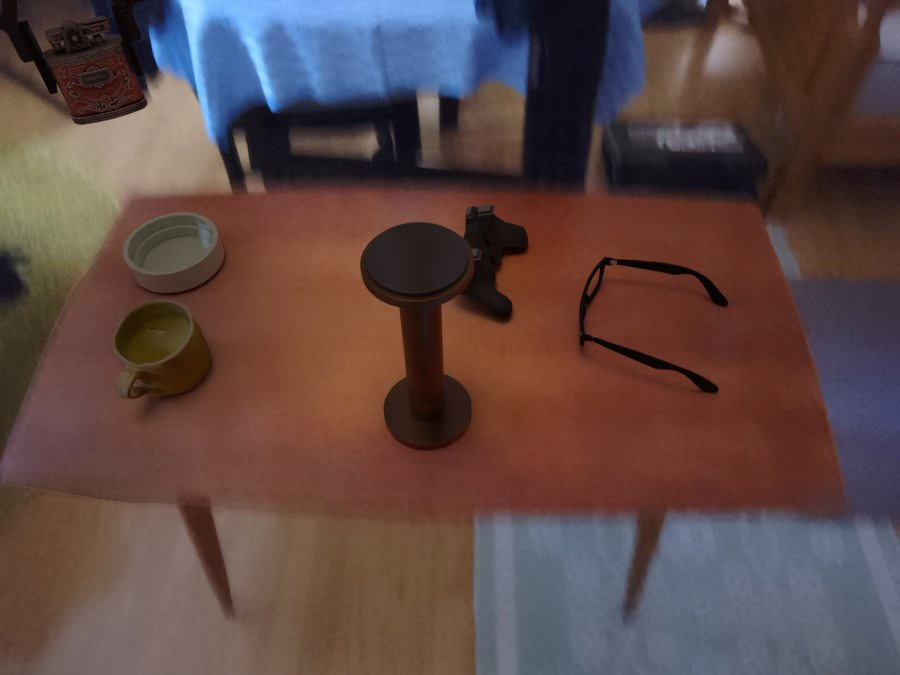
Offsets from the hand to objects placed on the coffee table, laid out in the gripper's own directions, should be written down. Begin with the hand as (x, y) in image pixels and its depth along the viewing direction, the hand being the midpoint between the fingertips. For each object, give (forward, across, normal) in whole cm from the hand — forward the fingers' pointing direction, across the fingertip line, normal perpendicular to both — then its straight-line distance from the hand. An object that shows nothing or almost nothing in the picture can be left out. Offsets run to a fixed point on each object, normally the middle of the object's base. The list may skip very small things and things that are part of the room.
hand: (96, 78), depth 73 cm
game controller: (+28, -38, +20) cm, 51 cm away
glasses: (+28, -52, +37) cm, 70 cm away
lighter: (+4, 0, 0) cm, 4 cm away
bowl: (+28, 0, 0) cm, 28 cm away
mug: (+28, +4, +20) cm, 35 cm away
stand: (+28, -22, +37) cm, 51 cm away
